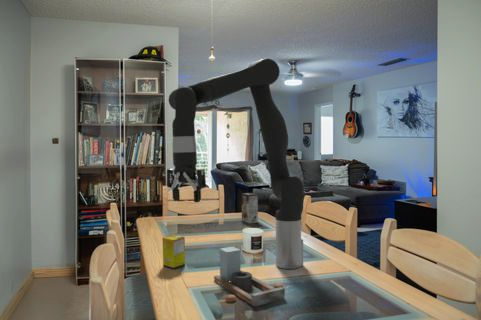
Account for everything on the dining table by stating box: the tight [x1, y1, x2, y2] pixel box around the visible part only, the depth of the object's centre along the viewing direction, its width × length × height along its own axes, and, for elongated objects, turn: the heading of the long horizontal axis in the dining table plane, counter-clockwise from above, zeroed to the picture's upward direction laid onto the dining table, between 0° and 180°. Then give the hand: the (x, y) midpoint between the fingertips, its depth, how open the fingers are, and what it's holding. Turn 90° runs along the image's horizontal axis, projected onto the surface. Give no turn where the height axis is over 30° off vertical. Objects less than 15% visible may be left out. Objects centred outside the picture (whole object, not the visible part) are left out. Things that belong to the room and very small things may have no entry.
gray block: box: [219, 246, 241, 282], centre depth 131 cm, size 5×5×10 cm
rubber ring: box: [231, 270, 253, 291], centre depth 124 cm, size 6×6×4 cm
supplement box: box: [162, 234, 186, 270], centre depth 145 cm, size 6×6×11 cm
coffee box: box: [241, 192, 259, 224], centre depth 226 cm, size 9×6×16 cm
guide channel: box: [213, 274, 286, 307], centre depth 122 cm, size 20×24×3 cm
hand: (186, 201), depth 126 cm, fingers open, 8 cm apart
